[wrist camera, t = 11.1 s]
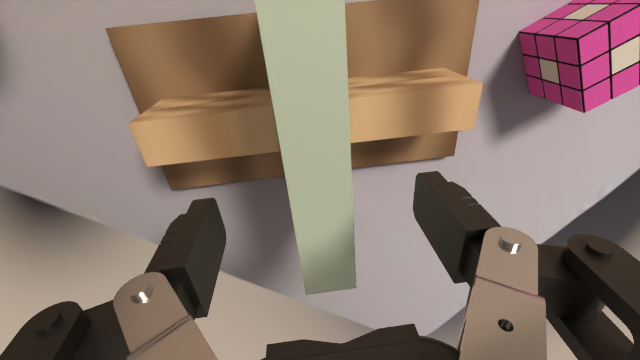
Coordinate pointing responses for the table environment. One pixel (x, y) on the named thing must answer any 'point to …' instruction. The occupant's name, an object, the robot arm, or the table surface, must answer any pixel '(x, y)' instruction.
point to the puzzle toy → (584, 52)
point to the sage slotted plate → (313, 132)
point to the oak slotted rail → (255, 97)
